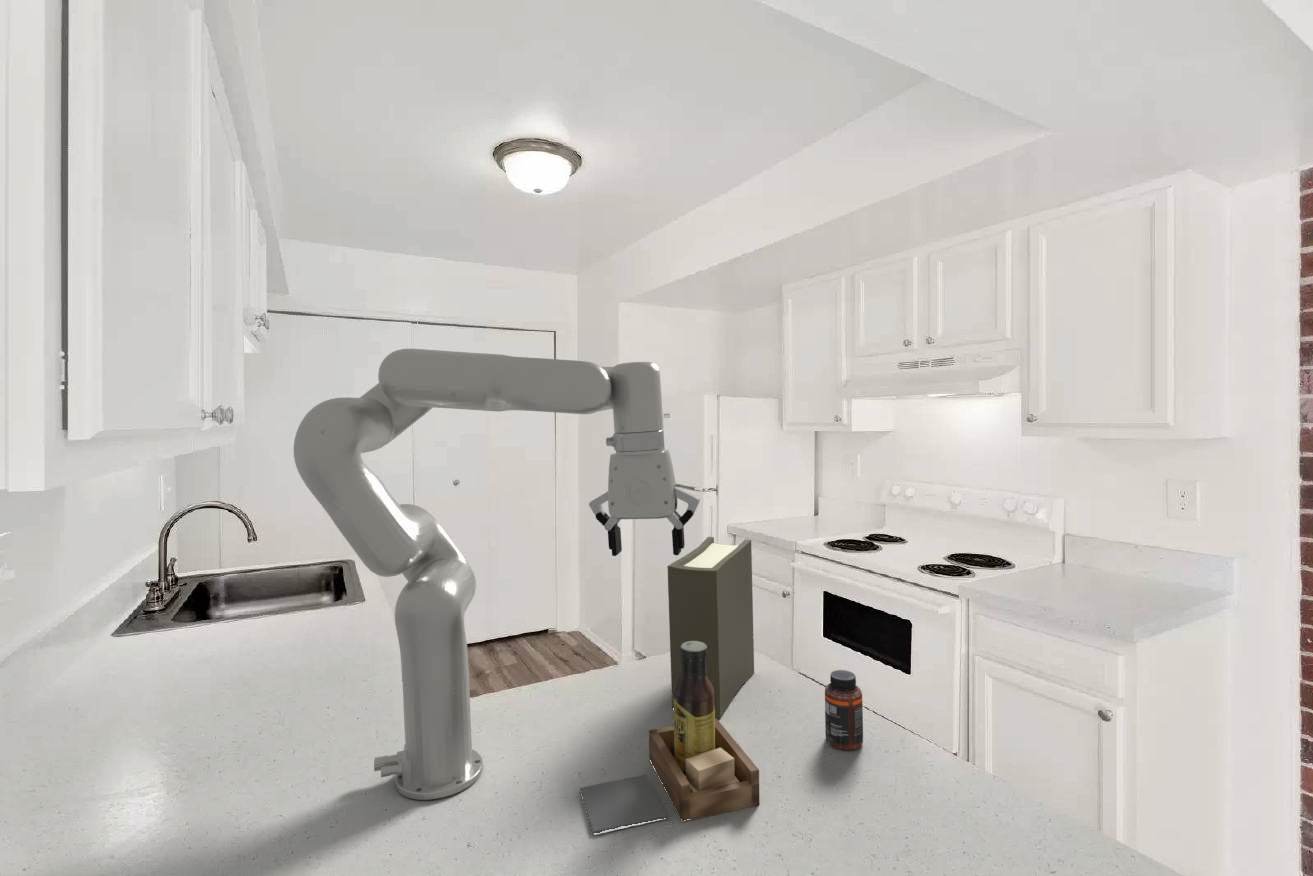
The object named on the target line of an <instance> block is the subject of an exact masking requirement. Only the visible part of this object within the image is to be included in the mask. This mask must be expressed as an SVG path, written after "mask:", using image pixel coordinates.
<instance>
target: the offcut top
mask: <svg viewBox="0 0 1313 876" xmlns="http://www.w3.org/2000/svg"><path fill="white" fill-rule="evenodd" d="M686 779H687V780H688V782H689V783H690V784H691V785H692V786H693V787H694V788H695V789H696V790H697V791H701V790H706V789H709V788H712V787H715V786H717V785H720V784H723V783H725V782H728V781H731V780H733V779H735V767H734V758H733V757H732V756H731V755H729V754H728V753H727V752H726V751H724V750H723V749H722V748H717V749H715V750H712V751H709V752H706V753H703V754H700V755H697V756H694V757H691V758H688V759H686Z"/></svg>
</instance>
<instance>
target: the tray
mask: <svg viewBox="0 0 1313 876" xmlns="http://www.w3.org/2000/svg"><path fill="white" fill-rule="evenodd" d="M648 747H649V748H648V753H649V759H650V760H651V762H652V765H653V766H654V768H655V770H656V772H657V774H658V776H659V778H660V780H661V782H662V783H663V785H662V787H663V786H664V787H665V789H666V791H667V793H668V795H669V797H670V798H669V797H668V798H669V800H670V799H671V800H670V802H671V801H672V802H673V804H672V805H674V806H675V808H676V810H677V811H676V810H675V811H676V813H677V812H678V813H677V815H678V814H679V815H678V817H679V816H680V817H679V819H680V818H681V819H682V821H684V820H687V819H694V820H698V819H702V817H703V818H706V817H711V815H712V816H714V815H720V814H725V813H729V812H732V811H737V810H741V809H746V808H751V807H755V806H759V805H760V769H759V768H758V767H757V765H756V764H755V763H754V762H753V761H752V759H751V758H750V757H749V755H748V754H747V753H746V752H745V751H744V750H743V748H742V747H741V746H740V745H739V744H738V742H737V741H736V740H735V739H734V738H733V736H732V735H731V734H730V733H729V732H728V731H727V729H726V728H725V726H724V725H723V724H722V723H721V722H720V721H719V719H717V718H715V749H717V748H722V749H723V750H724V751H726V752H727V753H728V754H729V755H731V756H732V757H733V758H734V767H735V777H736V778H737V779H738V780H739V783H734V784H729V785H725V786H720V787H715V788H710V789H706V790H701V791H696V792H692V793H690V783H689V782H688V780H687V779H686V777H685V775H684V774H683V772H682V770H681V769H680V767H679V766H678V764H677V762H676V761H675V759H674V725H671V726H665V727H661V728H660V727H659V728H653V729H649V730H648ZM652 765H651V766H652ZM656 772H655V773H656ZM657 774H656V775H657ZM658 776H657V777H658ZM659 778H658V779H659ZM660 780H659V781H660ZM661 782H660V783H661ZM664 787H663V788H664ZM665 789H664V790H665ZM666 791H665V792H666ZM667 793H666V794H667ZM668 795H667V796H668ZM672 802H671V803H672ZM674 806H673V807H674ZM675 808H674V809H675ZM724 812H725V813H724ZM697 818H698V819H697ZM681 819H680V820H681ZM682 821H681V822H682Z"/></svg>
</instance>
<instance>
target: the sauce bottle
mask: <svg viewBox="0 0 1313 876" xmlns="http://www.w3.org/2000/svg"><path fill="white" fill-rule="evenodd" d="M680 655H681V657H682V658H681V663H682V668H681V674H680V677H679V680H678V683H677V686H676V689H675V692H674V696H673V699H674V701H673V705H674V710H673V726H674V759H675V761H676V762H677V764H678V766H679V767H680V769H681V770H682V772H683V774H684V775H685V776H686V759H688V758H691V757H694V756H697V755H700V754H703V753H706V752H709V751H712V750H715V706H714V688H713V685H712V683H711V681H710V680H709V679H708V677H707V675H706V674H707V669H706V657H707V646H706V644H705V643H703V642H699V641H688V642H685V643H683V644H682V645H681V647H680Z"/></svg>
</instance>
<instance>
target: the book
mask: <svg viewBox="0 0 1313 876" xmlns="http://www.w3.org/2000/svg"><path fill="white" fill-rule="evenodd" d="M752 554H753V553H752V540H751V539H744V540H743V541H742V542H741V543H739V544H737V545H736V544H735V545H731V544H720V543H715V537H714V536H707V537H706V538H705V539H704V541H703V542H702V543H701V544H699V546H698V547H696V548H695V549H694V550H691V551H690V552H689V553H687V554H685V555H683V556H682V557H680V558H679V559H677V560H675V561H673V562H672V563H670V564H669V565H667V592H668V594H667V595H668V596H667V597H668V617H669V618H668V619H669V621H668V622H669V623H668V624H669V625H668V626H669V647H670V648H669V651H670V652H669V654H670V655H669V656H670V657H669V658H670V678H671V681H670V683H671V685H670V686H671V707H672V708H674V705H673V701H674V699H673V696H674V692H675V689H676V686H677V683H678V680H679V677H680V674H681V668H682V663H681V658H682V657H681V655H680V647H681V645H682V644H683V643H685V642H688V641H699V642H703V643H705V644H706V646H707V657H706V669H707V674H706V675H707V677H708V679H709V680H710V681H711V683H712V685H713V688H714V706H715V718H717V720H722V718H723V716H724V715H725V713H726V710H727V709H728V707H729V706H730V704H731V702H732V701H733V700H734V697H735V696H736V695H737V694H738V692H739V690H740V689H741V688H742V687H743V685H744V684H745V683H746V682H747V681H748V680H749V679H750V678H751V677H752V676H753V675H754V674H755V652H754V651H755V650H754V649H755V647H754V646H755V645H754V641H755V639H754V611H753V610H754V605H753V604H754V603H753V599H754V598H753V560H752V559H753V558H752V557H753V556H752ZM672 708H671V709H672ZM721 717H722V718H721Z"/></svg>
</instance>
